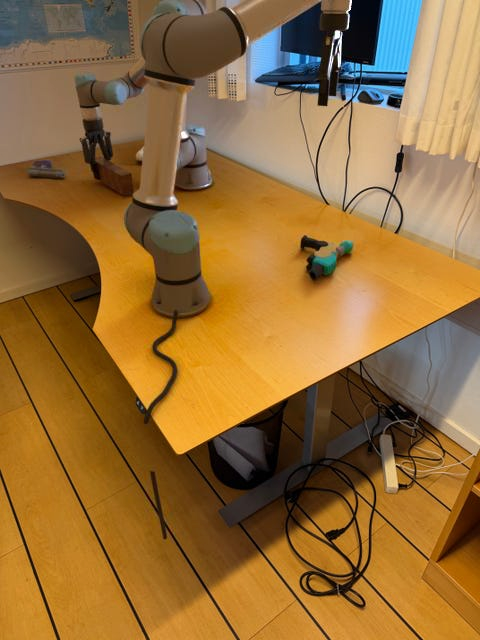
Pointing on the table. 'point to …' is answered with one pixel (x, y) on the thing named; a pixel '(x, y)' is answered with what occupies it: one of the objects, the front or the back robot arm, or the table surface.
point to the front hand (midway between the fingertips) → (327, 100)
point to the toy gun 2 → (323, 255)
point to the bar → (114, 176)
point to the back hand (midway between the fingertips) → (102, 177)
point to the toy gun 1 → (45, 170)
